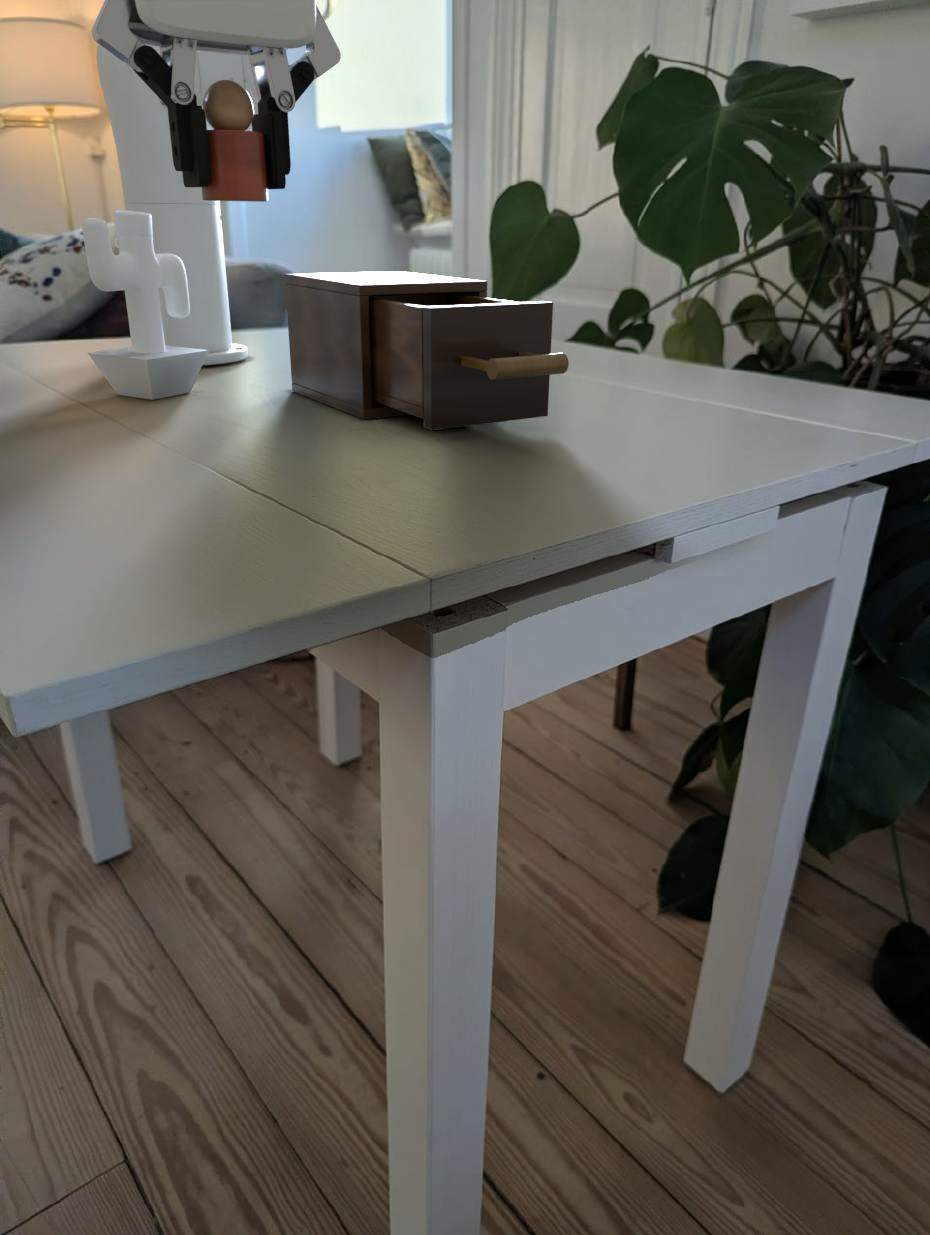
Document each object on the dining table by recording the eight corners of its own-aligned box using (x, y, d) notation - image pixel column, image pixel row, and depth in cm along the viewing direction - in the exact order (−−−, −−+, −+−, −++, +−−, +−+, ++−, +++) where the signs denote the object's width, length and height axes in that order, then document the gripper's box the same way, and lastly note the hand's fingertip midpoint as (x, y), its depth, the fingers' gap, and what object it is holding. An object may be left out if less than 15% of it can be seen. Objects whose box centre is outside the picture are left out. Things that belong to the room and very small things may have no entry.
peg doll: (194, 200, 54) (182, 80, 52) (255, 201, 56) (247, 86, 54) (214, 200, 51) (202, 73, 49) (278, 201, 53) (270, 79, 51)
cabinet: (485, 406, 78) (487, 281, 74) (363, 419, 72) (359, 284, 68) (402, 381, 89) (401, 271, 85) (292, 391, 83) (284, 273, 79)
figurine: (221, 389, 83) (205, 211, 77) (141, 406, 76) (116, 209, 70) (165, 382, 87) (145, 210, 81) (83, 397, 79) (54, 209, 73)
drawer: (589, 428, 66) (597, 308, 63) (468, 444, 61) (470, 314, 57) (455, 389, 80) (456, 289, 77) (348, 399, 75) (344, 293, 72)
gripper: (324, -156, 53) (337, 192, 60) (11, -227, 45) (72, 185, 52) (383, -200, 47) (390, 190, 55) (36, -290, 39) (101, 183, 46)
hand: (234, 184), depth 53 cm, fingers closed on peg doll, 3 cm apart
